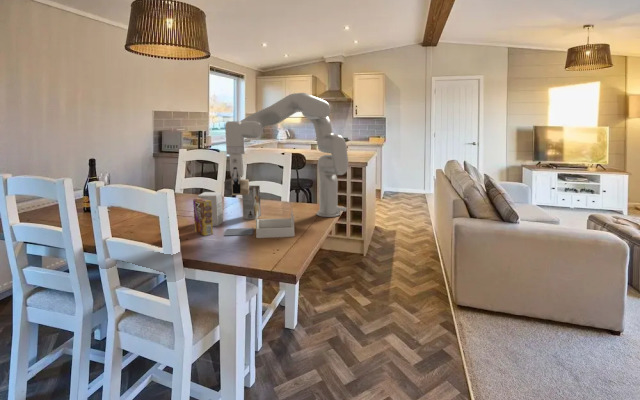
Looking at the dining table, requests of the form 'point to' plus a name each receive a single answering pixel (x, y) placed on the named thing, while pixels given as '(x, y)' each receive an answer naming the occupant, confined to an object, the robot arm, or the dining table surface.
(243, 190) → the block
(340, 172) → the robot arm
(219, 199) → the supplement box
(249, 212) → the coffee box
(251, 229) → the mat
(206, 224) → the candy box
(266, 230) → the grey open box
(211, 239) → the dining table surface
